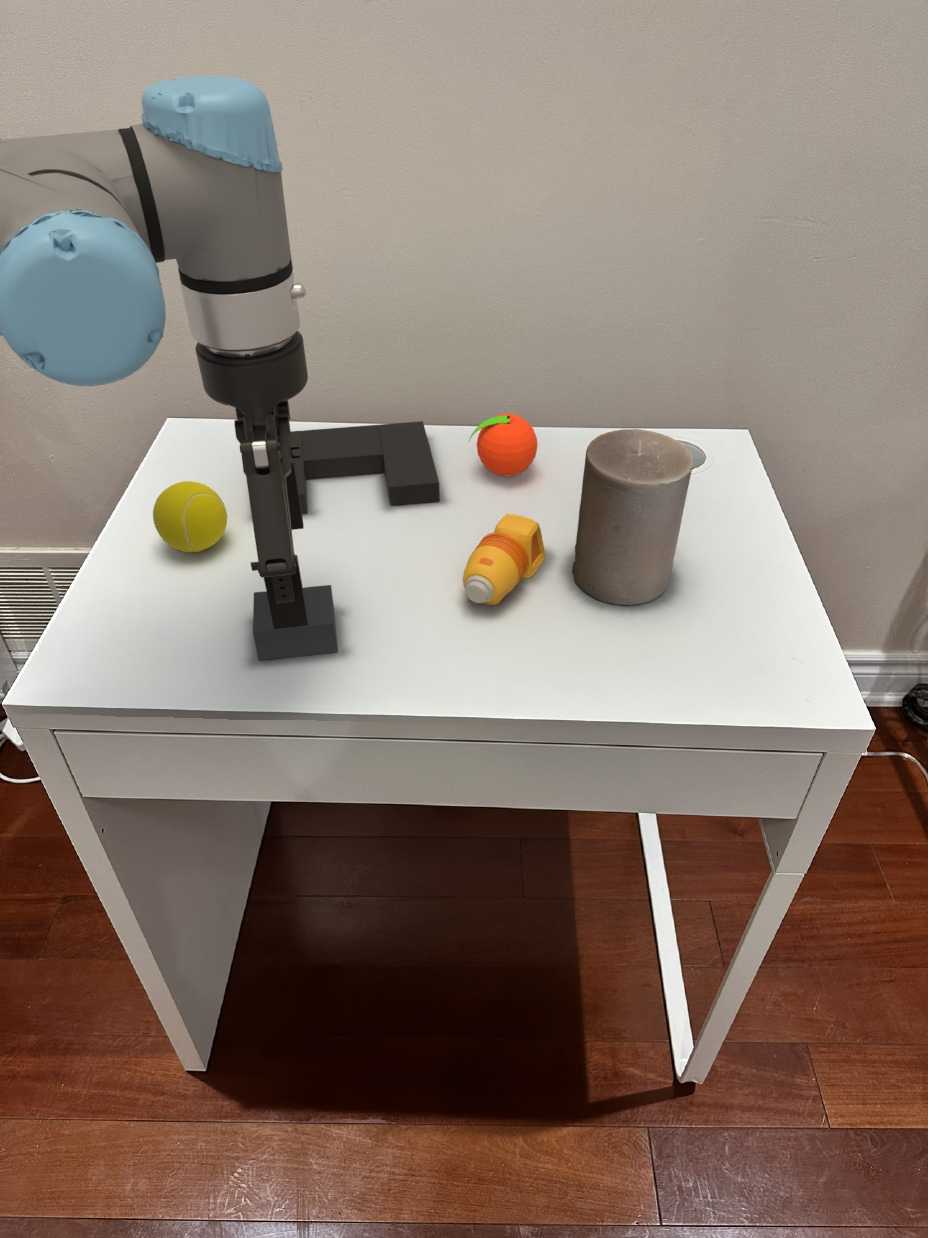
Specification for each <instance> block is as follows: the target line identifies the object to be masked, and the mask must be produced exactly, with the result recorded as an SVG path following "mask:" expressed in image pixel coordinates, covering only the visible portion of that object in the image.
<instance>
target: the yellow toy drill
mask: <svg viewBox="0 0 928 1238" xmlns="http://www.w3.org/2000/svg"><path fill="white" fill-rule="evenodd" d="M545 560H546V552H545V546H544V540H543V535H542V529H541V527H540V523H539V522H537V521H535V520H534V519H532V518H528V517H525V516H522V515H517V514H512V513H505V515H503V517H501V518H500V520H499V521H498V522H497V524H496V525H495V527H494V531H493V532H491V533H488V534H486V535H484V536H483V537H482V538H481V540H480V541H479V543H478V544H477V545H476V547H475V548H474V549H473V551H472V552H471V553H470V555H469V557H468V560H467V562H466V566H465V568H464V571H463V574H462V575H463V576H462V583H463V587H464V589H465V595H466V596H467V598H468V599H469V600H470V601H471V602H473V603H476V604H486V605H490V606H492V605H493V606H495V605H496V606H497V605H498V604H499V603H500V602H501V601H502V600H503V599H504V598H505V597H506V596H507V594H509V593H510V592H511V591H513V590H514V589H515V587H516V586H517V585H518V584H519V582H520V581H521V580H522V579H530V578H532V577H533V576H534V575H535V574H536V572H537V571H538V570H539V568H540V566H541V565H542V564H543V563H544V561H545Z"/></svg>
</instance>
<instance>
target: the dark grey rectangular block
mask: <svg viewBox="0 0 928 1238" xmlns="http://www.w3.org/2000/svg"><path fill="white" fill-rule="evenodd" d="M303 593H304V599H305V606H306V612H307V618H308V625H307V626H298V627H289V628H280V629H274V626H273V621H272V616H271V611H270V606H269V601H268V596H267V591H266V590H265V591H256V592H253V606H252V607H253V610H252V612H253V614H252V634H253V640H254V644H255V649H256V654H257V657H258V658H257V659H258V661H269V660H279V659H289V658H297V657H305V656H314V655H315V656H316V655H324V654H334V653H338V651H339V650H338V637H337V628H336V627H337V625H336V615H335V614H336V613H335V607H334V606H335V604H334V597H333V589H332V585H331V584H325V585H315V586H306V587H305V586H303Z"/></svg>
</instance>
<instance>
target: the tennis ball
mask: <svg viewBox="0 0 928 1238" xmlns="http://www.w3.org/2000/svg"><path fill="white" fill-rule="evenodd" d="M152 509H153V510H152V520H153V524H154V527H155V529H156V532H157V533H158V535H159V537H160V538H161V539H162V541H164V542H165V543H166V544H167V545H168V546H169V547H171V548H173V549H175V550H177V551H180V552H184V553H199V552H202V551H205V550H206V549H209V548H211V547H213V546H214V545H215V544H216V543H218V542H219V540H220V539H221V538H222V537H223V535H224V533H225V532H226V528H227V524H228V513H227V508H226V506H225V504H224V501H223V500H222V498H221V496H220V495H219V494H218V493H217V492H216V491H215V490H214V489H213V488H211V487H210V486H208V485H206V484H204V483H201V482H198V481H191V480H190V481H189V480H184V481H179V482H177V483H174V484H171V485H169V486H168V487H167V488H165V489H164V490H163V491H162V492H161V493H160V494H159V495H158V497H157V498H156V500H155V502H154V505H153V508H152Z"/></svg>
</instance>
